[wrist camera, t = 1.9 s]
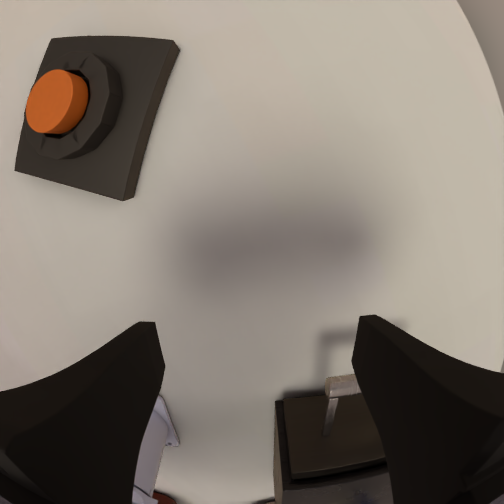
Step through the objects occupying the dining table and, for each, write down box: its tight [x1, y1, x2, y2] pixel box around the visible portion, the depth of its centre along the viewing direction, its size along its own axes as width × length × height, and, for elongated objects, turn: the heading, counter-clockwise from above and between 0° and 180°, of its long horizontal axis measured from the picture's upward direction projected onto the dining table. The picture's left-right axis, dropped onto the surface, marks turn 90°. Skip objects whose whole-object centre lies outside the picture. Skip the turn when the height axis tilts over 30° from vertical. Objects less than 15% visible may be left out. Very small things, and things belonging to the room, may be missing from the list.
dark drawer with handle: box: [283, 374, 387, 481], centre depth 19 cm, size 19×11×7 cm, turn 2°
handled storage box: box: [273, 401, 393, 504], centre depth 20 cm, size 15×13×9 cm
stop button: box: [26, 69, 89, 134], centre depth 11 cm, size 4×4×2 cm
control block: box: [15, 36, 180, 201], centre depth 13 cm, size 10×10×4 cm
